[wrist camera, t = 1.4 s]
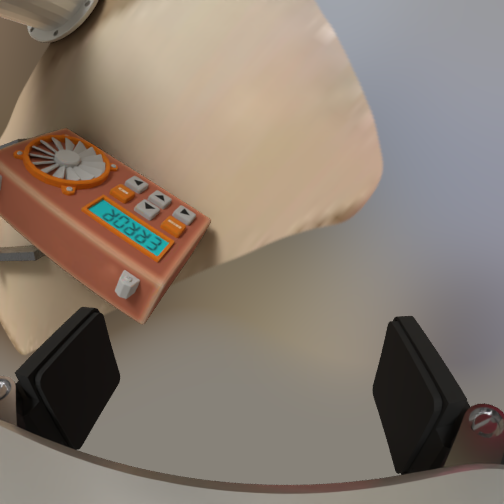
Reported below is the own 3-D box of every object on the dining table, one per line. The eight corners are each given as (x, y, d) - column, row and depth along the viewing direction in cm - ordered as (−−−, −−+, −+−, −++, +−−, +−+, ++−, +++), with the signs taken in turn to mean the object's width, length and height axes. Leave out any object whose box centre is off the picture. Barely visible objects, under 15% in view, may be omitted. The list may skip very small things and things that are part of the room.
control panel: (219, 209, 34) (161, 289, 21) (191, 255, 37) (133, 342, 24) (74, 120, 31) (-23, 150, 18) (60, 167, 34) (-27, 211, 22)
